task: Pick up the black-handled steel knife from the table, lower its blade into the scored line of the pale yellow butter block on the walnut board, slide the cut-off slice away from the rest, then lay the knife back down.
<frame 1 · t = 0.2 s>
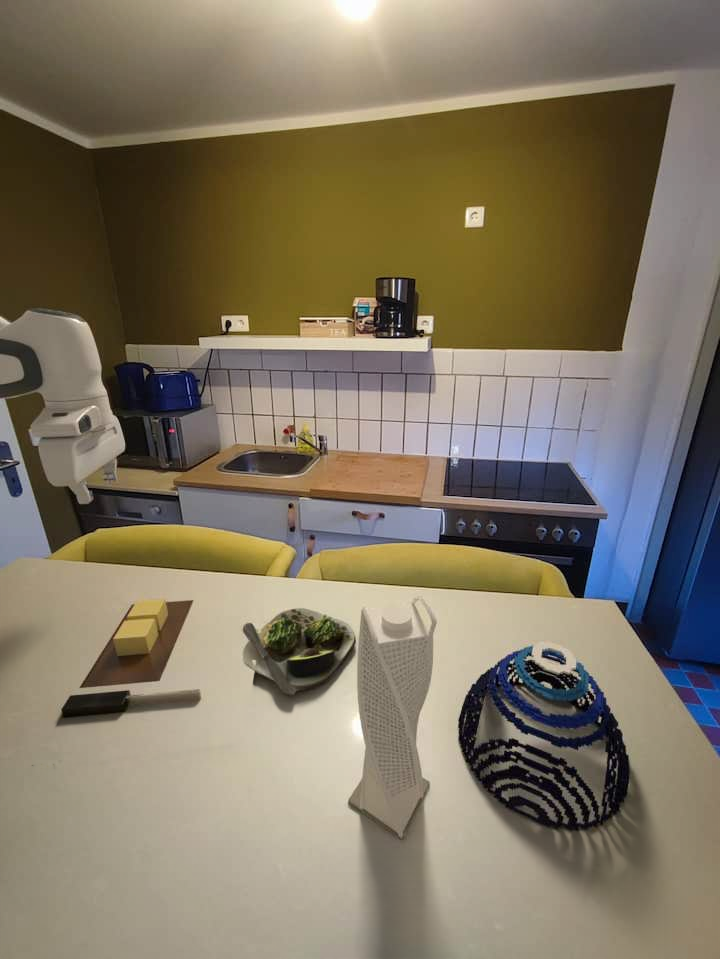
hand: (99, 491, 76), 24 cm above the table, tool pointing down, fingers open, 8 cm apart
decorative bowl: (536, 743, 56), on the table
cutting board: (132, 646, 73), on the table
butter block: (138, 645, 71), point 1 cm above the table, touching cutting board
knife: (137, 712, 61), on the table
skyscraper: (392, 802, 49), on the table
butter slice: (150, 623, 77), point 1 cm above the table, touching cutting board
salad plate: (301, 653, 72), on the table
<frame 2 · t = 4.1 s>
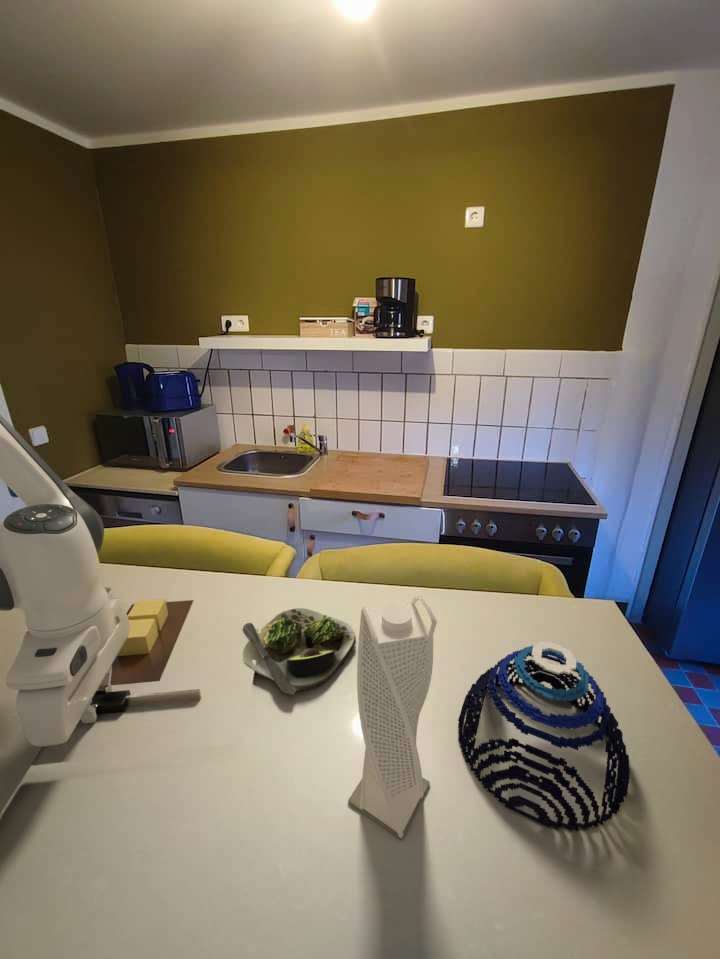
hand: (98, 707, 60), 2 cm above the table, tool pointing down, fingers closed on knife, 2 cm apart
knife: (137, 712, 61), on the table, touching gripper
everything else where it was.
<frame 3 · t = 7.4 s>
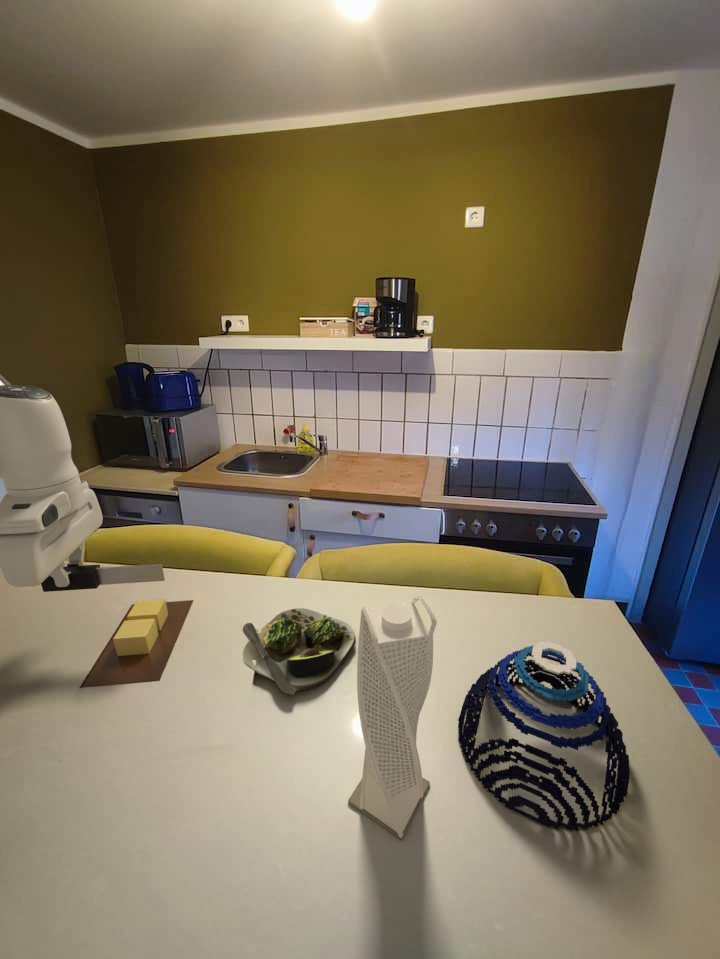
hand: (71, 577, 68), 14 cm above the table, tool pointing down, fingers closed on knife, 2 cm apart
knife: (106, 583, 69), point 13 cm above the table, touching gripper
everything else where it was.
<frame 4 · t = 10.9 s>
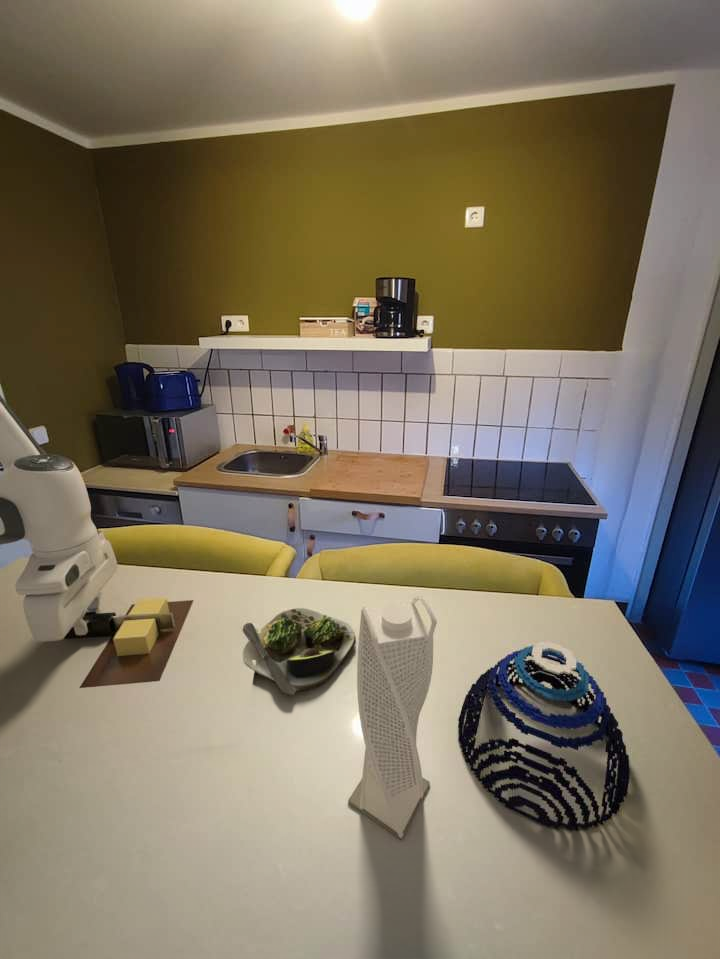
hand: (89, 624, 73), 4 cm above the table, tool pointing down, fingers closed on knife, 2 cm apart
knife: (121, 630, 74), point 2 cm above the table, touching butter slice, gripper
butter slice: (151, 622, 77), point 2 cm above the table, touching knife
everything else where it was.
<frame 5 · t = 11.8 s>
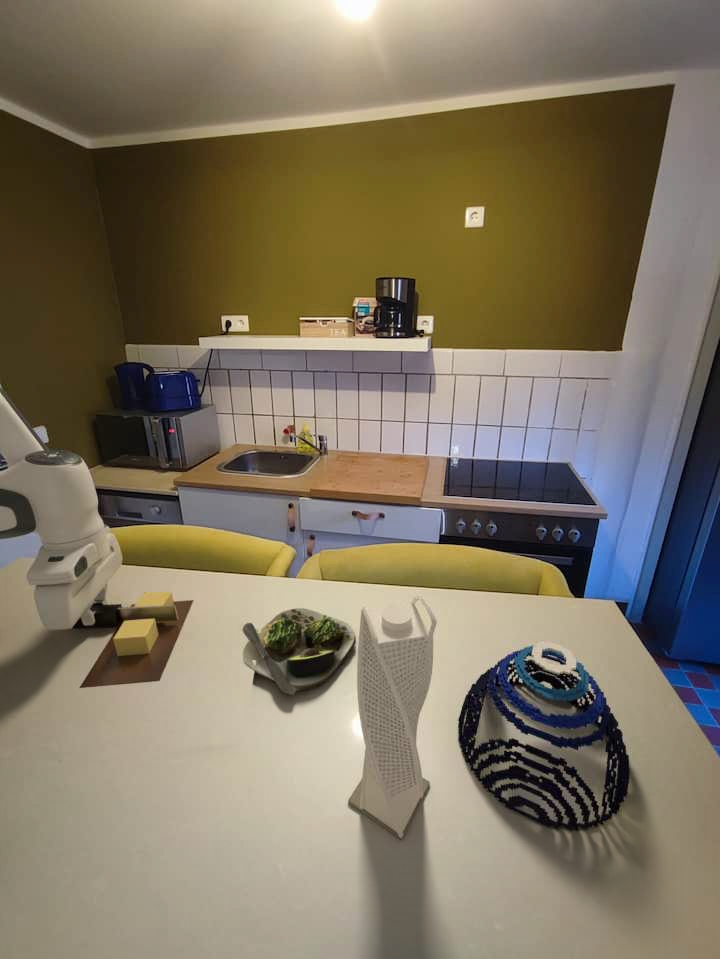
hand: (96, 615, 76), 4 cm above the table, tool pointing down, fingers closed on knife, 2 cm apart
knife: (127, 621, 76), point 2 cm above the table, touching butter slice, gripper
butter slice: (156, 615, 79), point 1 cm above the table, touching cutting board, knife
everything else where it was.
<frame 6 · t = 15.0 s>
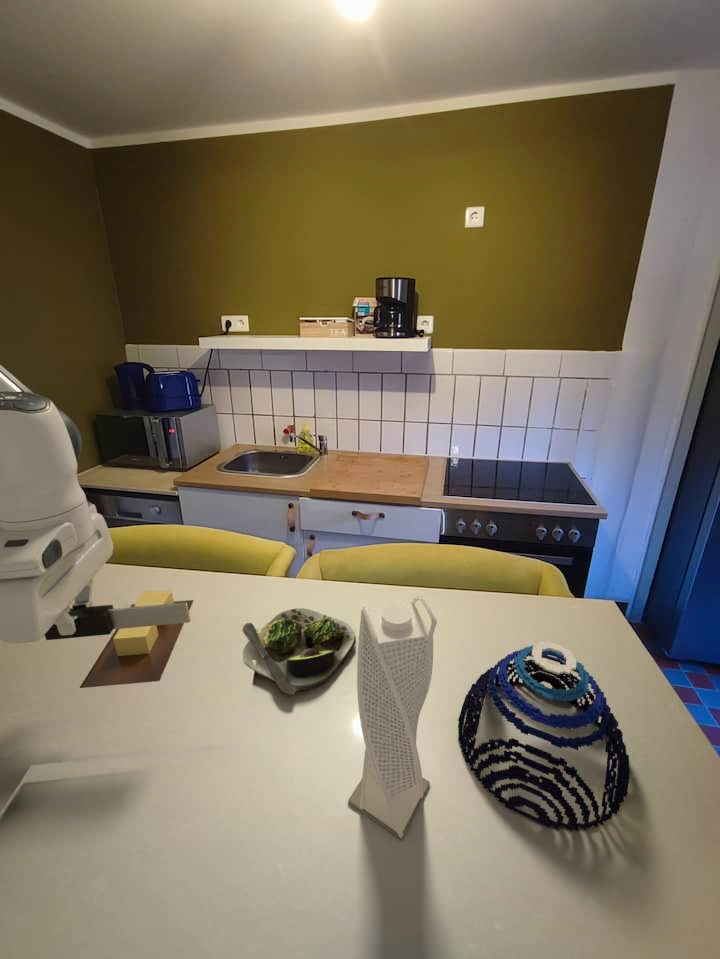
hand: (77, 621, 57), 15 cm above the table, tool pointing down, fingers closed on knife, 2 cm apart
knife: (121, 627, 58), point 14 cm above the table, touching gripper
butter slice: (156, 614, 79), point 1 cm above the table, touching cutting board
everything else where it was.
when the fingers open (2 cm above the table, at t = 17.7 s): knife stays where it is, on the table.
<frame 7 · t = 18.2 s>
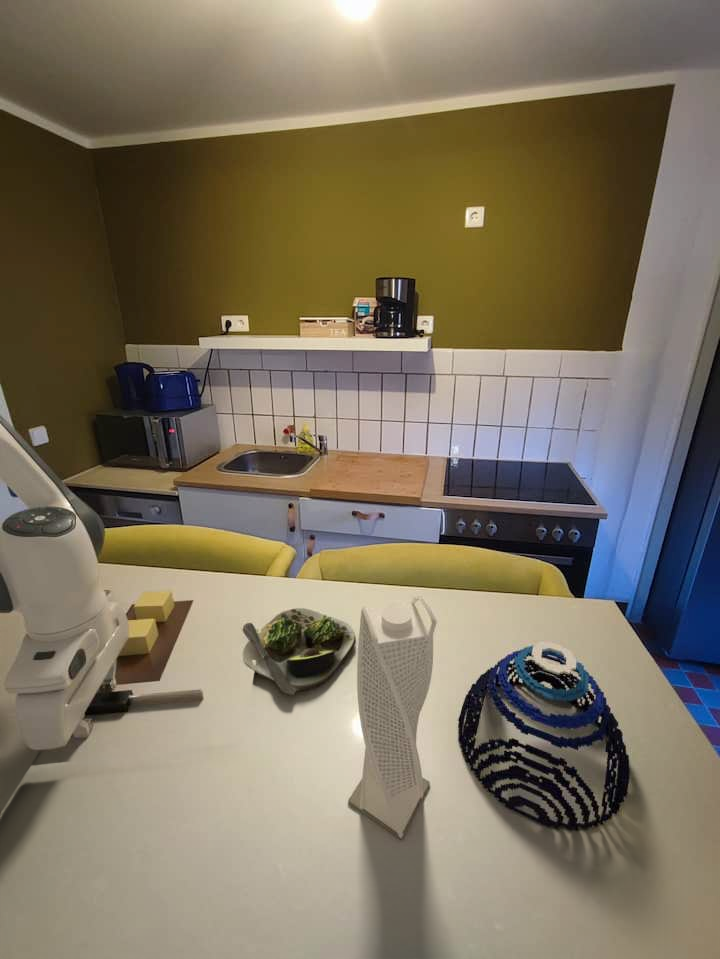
hand: (97, 710, 60), 1 cm above the table, tool pointing down, fingers open, 6 cm apart
knife: (140, 711, 61), on the table
everything else where it was.
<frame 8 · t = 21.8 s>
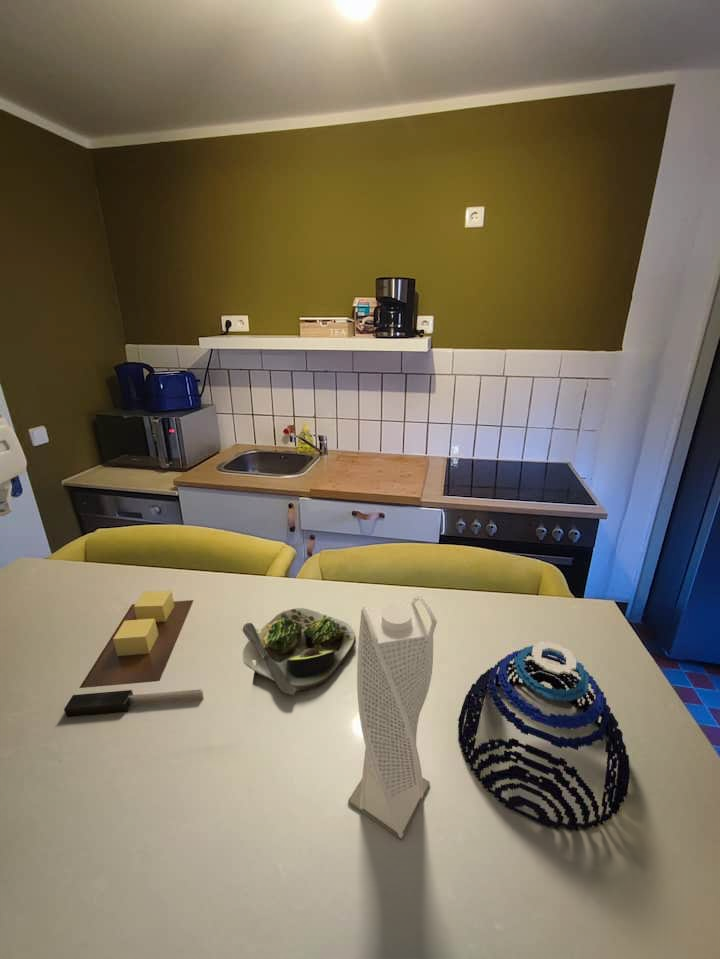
nothing on the table moved.
at the end: butter slice 1.3 cm from the target spot on the table beside the butter block, resting on cutting board; butter block moved 0.0 cm from its start; the gripper is holding nothing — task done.
